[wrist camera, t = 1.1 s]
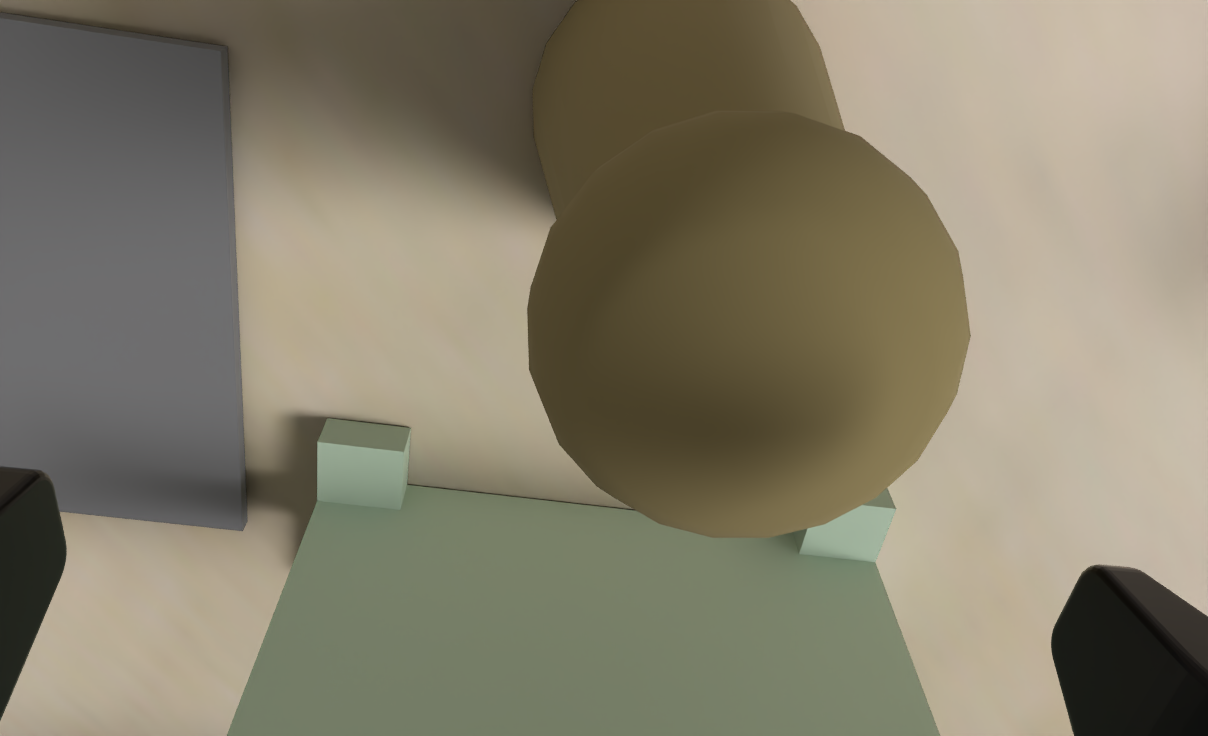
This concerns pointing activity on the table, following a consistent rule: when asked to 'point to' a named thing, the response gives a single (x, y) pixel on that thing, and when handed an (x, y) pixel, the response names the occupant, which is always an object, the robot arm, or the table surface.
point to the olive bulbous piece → (730, 273)
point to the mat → (120, 273)
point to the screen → (568, 619)
